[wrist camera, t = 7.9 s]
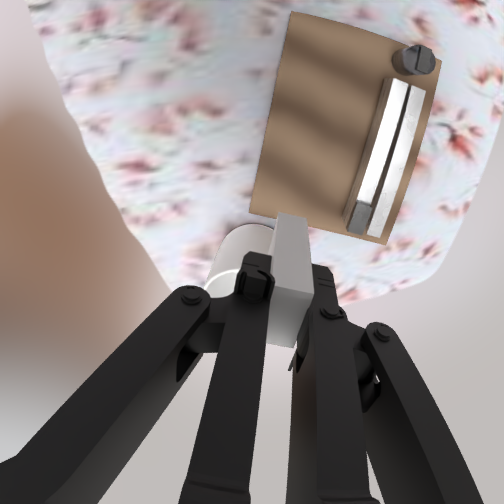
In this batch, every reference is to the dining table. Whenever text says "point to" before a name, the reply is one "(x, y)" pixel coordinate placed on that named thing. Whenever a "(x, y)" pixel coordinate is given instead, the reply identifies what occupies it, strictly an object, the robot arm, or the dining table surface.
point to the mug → (236, 257)
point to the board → (328, 122)
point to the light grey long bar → (374, 155)
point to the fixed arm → (400, 134)
